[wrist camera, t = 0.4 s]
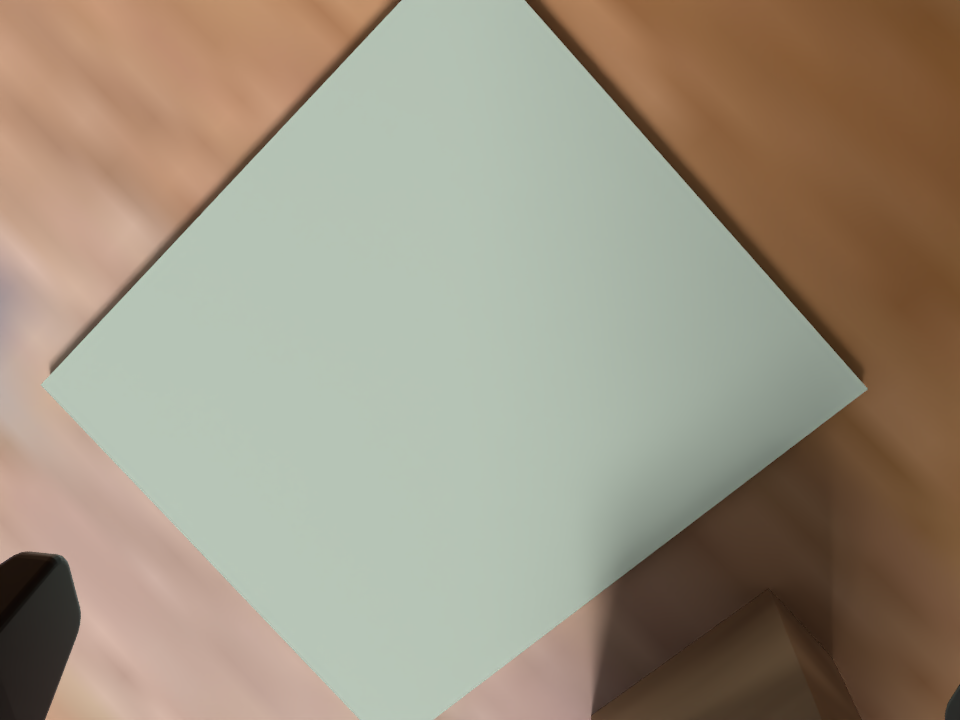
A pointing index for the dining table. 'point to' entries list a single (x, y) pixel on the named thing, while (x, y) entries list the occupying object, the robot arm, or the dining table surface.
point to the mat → (446, 360)
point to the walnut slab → (742, 675)
